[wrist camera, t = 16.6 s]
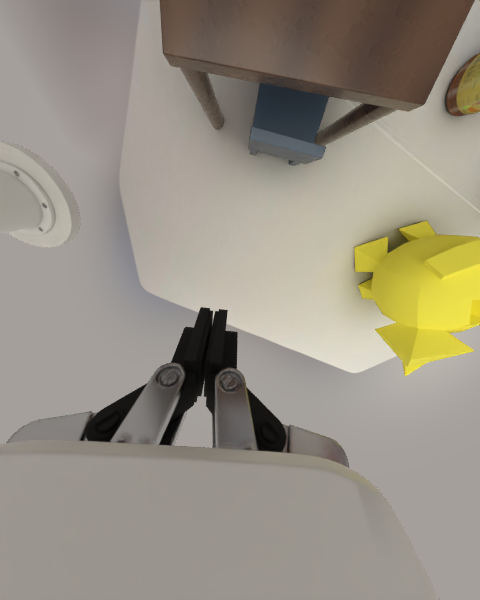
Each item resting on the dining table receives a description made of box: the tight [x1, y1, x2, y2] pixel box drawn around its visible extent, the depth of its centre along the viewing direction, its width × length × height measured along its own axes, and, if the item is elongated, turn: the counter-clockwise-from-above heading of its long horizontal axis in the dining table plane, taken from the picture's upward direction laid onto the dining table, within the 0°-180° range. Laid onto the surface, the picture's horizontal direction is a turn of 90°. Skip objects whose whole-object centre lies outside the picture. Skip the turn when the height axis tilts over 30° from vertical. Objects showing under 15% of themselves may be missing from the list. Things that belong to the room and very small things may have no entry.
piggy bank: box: [355, 221, 480, 376], centre depth 31 cm, size 20×20×19 cm
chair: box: [249, 83, 329, 166], centre depth 22 cm, size 8×8×12 cm
